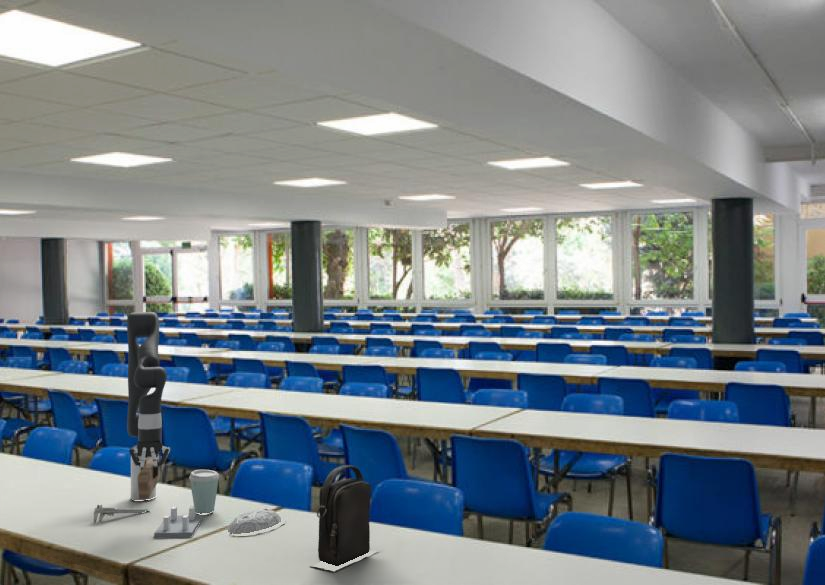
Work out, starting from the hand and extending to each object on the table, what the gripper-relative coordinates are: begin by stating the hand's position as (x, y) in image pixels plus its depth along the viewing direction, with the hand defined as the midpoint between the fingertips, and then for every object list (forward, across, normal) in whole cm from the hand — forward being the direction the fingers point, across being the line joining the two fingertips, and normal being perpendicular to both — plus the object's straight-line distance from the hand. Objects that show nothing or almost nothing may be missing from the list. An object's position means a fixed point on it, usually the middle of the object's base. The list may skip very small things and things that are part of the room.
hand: (149, 477), depth 264 cm
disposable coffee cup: (+18, -14, -19) cm, 29 cm away
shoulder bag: (+18, -67, +33) cm, 76 cm away
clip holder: (+17, -10, -1) cm, 20 cm away
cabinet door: (+4, 0, -1) cm, 4 cm away
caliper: (+18, +13, -15) cm, 27 cm away
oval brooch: (+18, -35, -1) cm, 40 cm away
